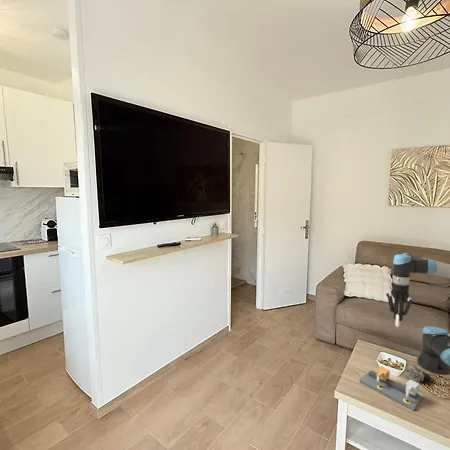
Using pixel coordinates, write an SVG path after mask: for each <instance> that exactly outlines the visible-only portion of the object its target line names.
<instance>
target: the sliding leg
mask: <svg viewBox="0 0 450 450" xmlns="http://www.w3.org/2000/svg"><path fill="white" fill-rule="evenodd" d="M376 373H377V374H376V376H377V385H379V381H380V379H382V380H384V381H386V380H387V379H390V374H391V373H390V369H388V368H386V367H384V366H380V367H379V368H378V369H377V372H376Z"/></svg>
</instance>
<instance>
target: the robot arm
mask: <svg viewBox="0 0 450 450" xmlns="http://www.w3.org/2000/svg"><path fill="white" fill-rule="evenodd" d="M392 263H393V267H392V283H391V291H389V292H387V293H385V296H386V297H387V301H388V305H389V311H390V312H392V313H393V319H394V320H395V321H394V323H395V324H394V325H395V326H394V327H397V328H399V327H400V326H401V322H402V321H403V319H404V316H406V315H408V312H409V311H410V307H411V306H412V303H413V302H415V299H414V298H412V297H411V296H410V294H409V289H410V288H409V287H410V286H409V284H410V278H411V274H422V275H423V274H424V275H436V276H440V277H444V278H446V279H447V278H448V279H450V264H449V263H446V262H443V261H437V260H434V259H430V258H428V257H427V258H426V257H422V256H418V255H414V254H412V253H409V252H404V253H402V254H401V253H399V254H398V253H397V254H395V255H394V257H393V262H392ZM393 299H394V300H393ZM406 300H407V303H406V304H405V302H406ZM416 363H417V365H418V366H419V367H421V368H422V369H423V370H426V371H427V372H430V373H433V374H436V375H437V374H438V375H448V374H449V373H450V333H449V331H448V330H447V329H445V328H441V327H437V326H429V325H427V326H424V327H423V328H422V338H421V350H420V352H419V354H418V356H417V358H416Z"/></svg>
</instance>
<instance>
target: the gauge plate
mask: <svg viewBox="0 0 450 450" xmlns="http://www.w3.org/2000/svg"><path fill="white" fill-rule="evenodd" d="M376 374H377V372H375V371H374V370H369V371H368V372H367V373H366V374H365V375H364V376H362V377H361V378H360V379H359V383H360V384H363V385H364V386H366V387H368V388H369V389H371V390H373V391H375V392H377V393H379V394H381V395H383V396H385V397H386V398H388V399H390V400H393V401H394V402H396V403H398V404H400V405H401V406H403V407H405V408H407V409H409V410H411V411H413V412H414V411H415V410H416V408H417V407H418V406H419V405H420V403H421V402H422V401H423V398H424V397H423V396H422V395H421V394H419V391H420V382H419V383H417V382H414V381H412V380H408V381H407V382H406V383H405V386H404V385H402V384H400V383H399V382H396V381H394V380H393V379H390V378H388V379H387V380H386V381H384V380H382V379H380V381H379V385H377V376H376Z"/></svg>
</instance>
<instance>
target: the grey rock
mask: <svg viewBox="0 0 450 450" xmlns="http://www.w3.org/2000/svg"><path fill="white" fill-rule="evenodd" d="M404 379H406V380H408V381H409V380H412V381H414V382H417V383H419V384H420V382H422V383H423V382H424V383H429V382H430V380H431V376H430V375H429V374H428V373H426V372H425V371H423V370H421V369H418V367H416V366H415V365H410V366H409V365H408V366H407V368H406V370H405V373H404Z"/></svg>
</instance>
